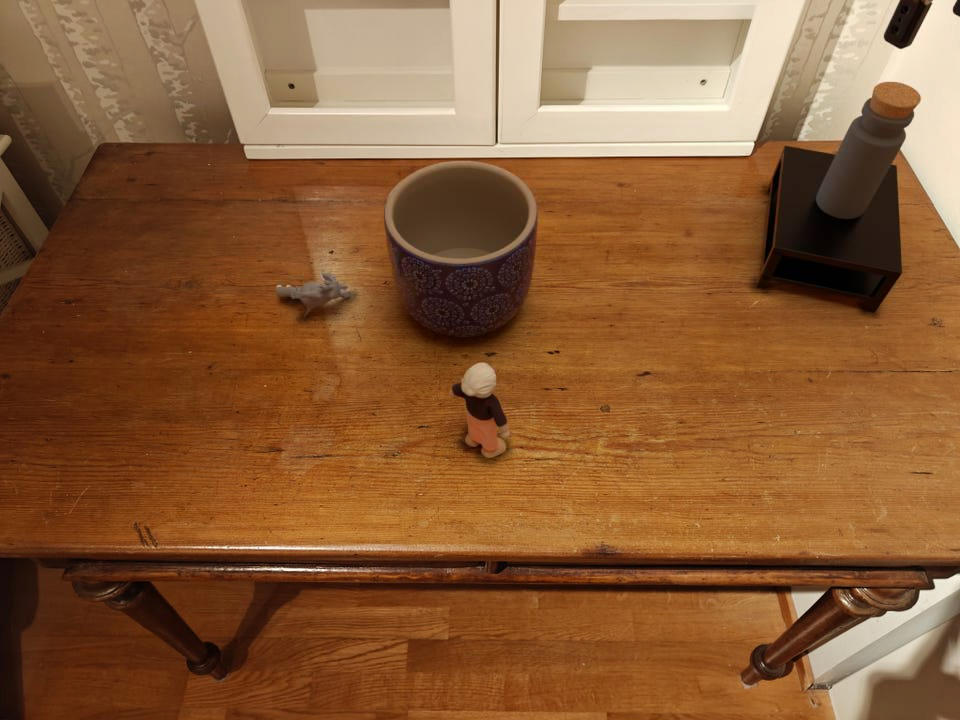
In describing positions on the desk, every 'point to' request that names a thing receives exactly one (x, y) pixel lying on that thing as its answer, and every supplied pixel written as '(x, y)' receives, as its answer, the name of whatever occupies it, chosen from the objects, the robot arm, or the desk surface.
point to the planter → (461, 245)
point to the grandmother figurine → (482, 410)
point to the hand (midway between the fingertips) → (930, 29)
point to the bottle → (868, 150)
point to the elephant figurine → (315, 291)
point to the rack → (829, 234)
